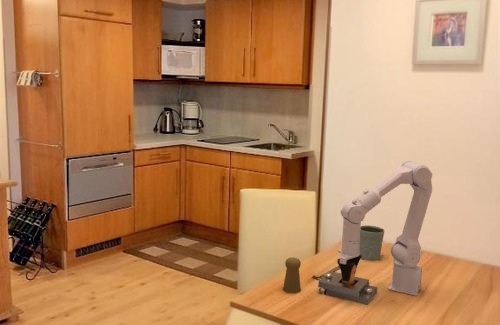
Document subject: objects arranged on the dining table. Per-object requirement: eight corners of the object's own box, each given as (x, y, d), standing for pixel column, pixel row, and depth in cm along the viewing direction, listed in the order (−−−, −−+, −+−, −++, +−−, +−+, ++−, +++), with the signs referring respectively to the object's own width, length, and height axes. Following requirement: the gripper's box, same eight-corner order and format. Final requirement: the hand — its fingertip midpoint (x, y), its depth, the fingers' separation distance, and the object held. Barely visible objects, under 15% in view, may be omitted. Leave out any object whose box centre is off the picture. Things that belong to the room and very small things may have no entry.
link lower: (377, 292, 171) (377, 284, 170) (367, 304, 161) (368, 295, 161) (337, 283, 178) (338, 275, 177) (326, 294, 168) (326, 286, 168)
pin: (357, 284, 171) (358, 265, 170) (352, 290, 167) (353, 270, 165) (343, 281, 174) (344, 262, 172) (338, 286, 169) (339, 267, 168)
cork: (289, 284, 176) (290, 254, 174) (304, 289, 172) (305, 258, 170) (279, 289, 171) (280, 258, 169) (294, 294, 167) (295, 263, 166)
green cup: (352, 253, 209) (354, 226, 207) (373, 252, 212) (375, 224, 210) (365, 262, 199) (367, 233, 198) (387, 260, 202) (389, 231, 201)
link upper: (368, 290, 172) (369, 276, 172) (358, 302, 163) (359, 287, 162) (329, 281, 179) (330, 268, 178) (317, 292, 170) (318, 278, 169)
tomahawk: (326, 286, 178) (326, 283, 178) (311, 279, 182) (311, 276, 182) (357, 269, 193) (357, 267, 193) (342, 263, 198) (343, 261, 197)
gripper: (346, 231, 175) (344, 268, 178) (331, 242, 163) (329, 282, 165) (366, 235, 172) (363, 273, 174) (352, 246, 159) (350, 287, 162)
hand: (348, 278), depth 169 cm, fingers closed on pin, 5 cm apart
